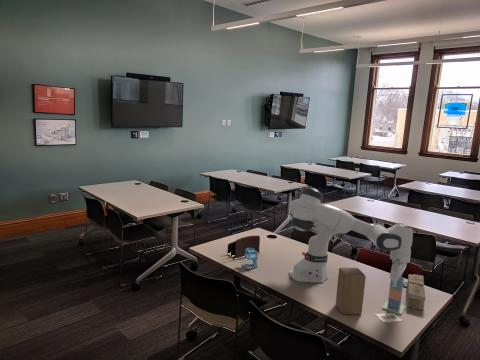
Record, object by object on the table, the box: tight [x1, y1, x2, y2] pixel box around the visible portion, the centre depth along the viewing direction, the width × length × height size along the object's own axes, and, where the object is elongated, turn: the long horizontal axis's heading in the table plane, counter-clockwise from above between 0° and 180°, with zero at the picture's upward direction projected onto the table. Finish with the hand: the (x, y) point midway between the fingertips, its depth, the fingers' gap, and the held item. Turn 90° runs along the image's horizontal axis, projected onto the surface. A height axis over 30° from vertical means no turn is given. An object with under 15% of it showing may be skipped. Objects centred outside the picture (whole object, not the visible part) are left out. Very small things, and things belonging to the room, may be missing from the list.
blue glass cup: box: [242, 248, 259, 270], centre depth 221 cm, size 8×8×12 cm
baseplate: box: [381, 297, 406, 316], centre depth 179 cm, size 9×9×6 cm
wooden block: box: [335, 267, 367, 315], centre depth 174 cm, size 10×10×20 cm
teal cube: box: [389, 276, 405, 291], centre depth 178 cm, size 5×5×5 cm
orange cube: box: [388, 287, 403, 301], centre depth 178 cm, size 5×5×5 cm
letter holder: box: [226, 235, 261, 259], centre depth 241 cm, size 10×20×14 cm, turn 126°
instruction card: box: [374, 312, 403, 323], centre depth 170 cm, size 10×7×1 cm
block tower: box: [406, 273, 426, 311], centre depth 192 cm, size 8×8×29 cm
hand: (396, 283), depth 178 cm, fingers open, 8 cm apart
